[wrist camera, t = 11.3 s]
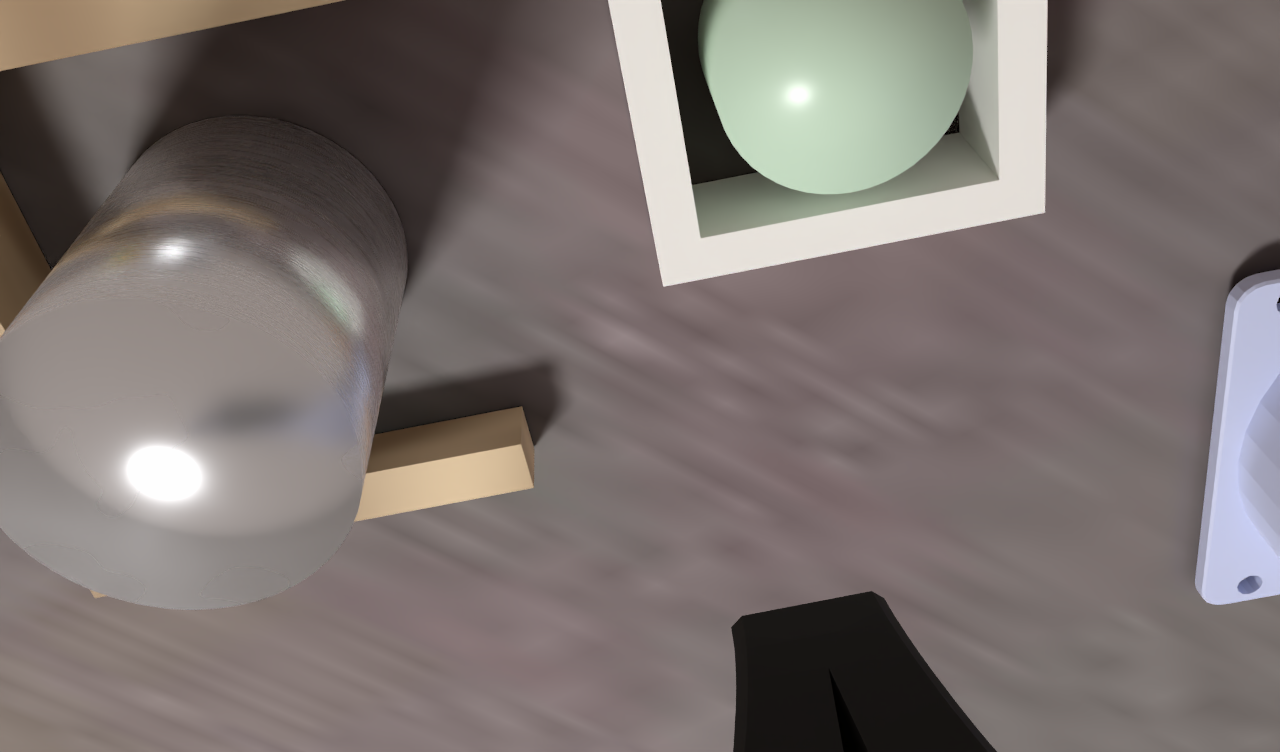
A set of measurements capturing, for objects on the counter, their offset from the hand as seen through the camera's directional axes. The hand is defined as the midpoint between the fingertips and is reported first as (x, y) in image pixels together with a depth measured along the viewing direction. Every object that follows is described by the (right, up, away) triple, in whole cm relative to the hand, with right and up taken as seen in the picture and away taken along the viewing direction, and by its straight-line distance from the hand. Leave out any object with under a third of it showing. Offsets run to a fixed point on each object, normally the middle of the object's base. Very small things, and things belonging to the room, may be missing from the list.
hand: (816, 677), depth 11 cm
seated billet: (-8, +5, +9) cm, 13 cm away
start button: (+1, +8, +7) cm, 11 cm away
